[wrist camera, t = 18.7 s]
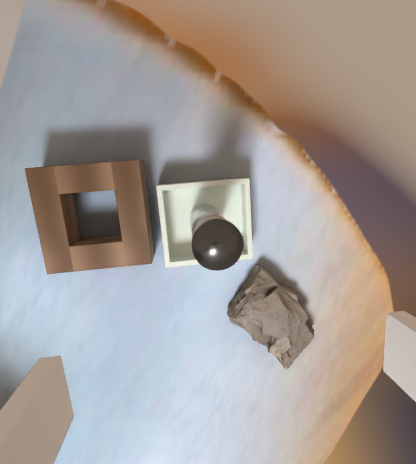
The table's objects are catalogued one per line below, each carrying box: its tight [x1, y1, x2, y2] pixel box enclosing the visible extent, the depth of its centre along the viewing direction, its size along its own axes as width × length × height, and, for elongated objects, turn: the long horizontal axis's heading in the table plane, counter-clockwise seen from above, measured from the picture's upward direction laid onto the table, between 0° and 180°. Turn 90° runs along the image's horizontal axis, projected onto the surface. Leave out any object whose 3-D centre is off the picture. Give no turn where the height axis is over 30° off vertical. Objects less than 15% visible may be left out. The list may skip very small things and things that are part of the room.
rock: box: [227, 264, 314, 369], centre depth 39 cm, size 14×9×4 cm
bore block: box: [25, 160, 155, 274], centre depth 34 cm, size 12×12×4 cm
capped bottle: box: [190, 204, 244, 270], centre depth 30 cm, size 4×4×13 cm
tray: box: [156, 178, 253, 267], centre depth 35 cm, size 11×10×3 cm
